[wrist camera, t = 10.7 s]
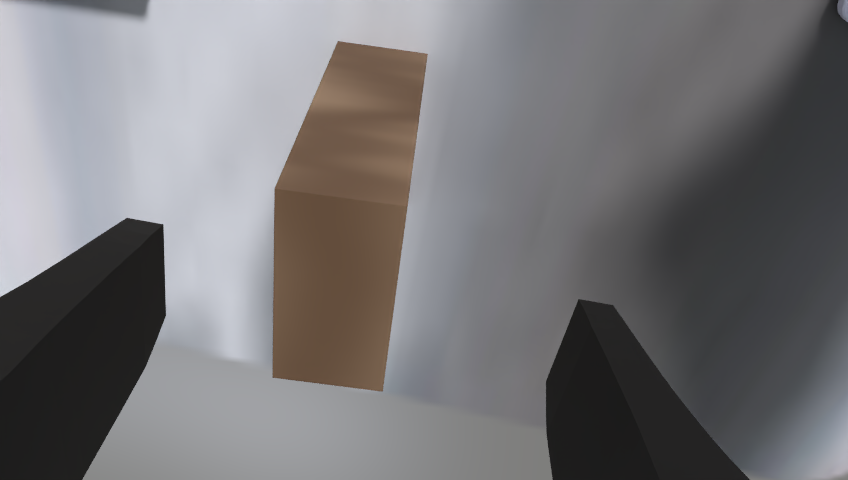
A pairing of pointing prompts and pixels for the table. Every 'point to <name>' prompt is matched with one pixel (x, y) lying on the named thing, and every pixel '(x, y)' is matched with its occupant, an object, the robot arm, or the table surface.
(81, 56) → the table surface
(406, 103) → the tall wooden plank
